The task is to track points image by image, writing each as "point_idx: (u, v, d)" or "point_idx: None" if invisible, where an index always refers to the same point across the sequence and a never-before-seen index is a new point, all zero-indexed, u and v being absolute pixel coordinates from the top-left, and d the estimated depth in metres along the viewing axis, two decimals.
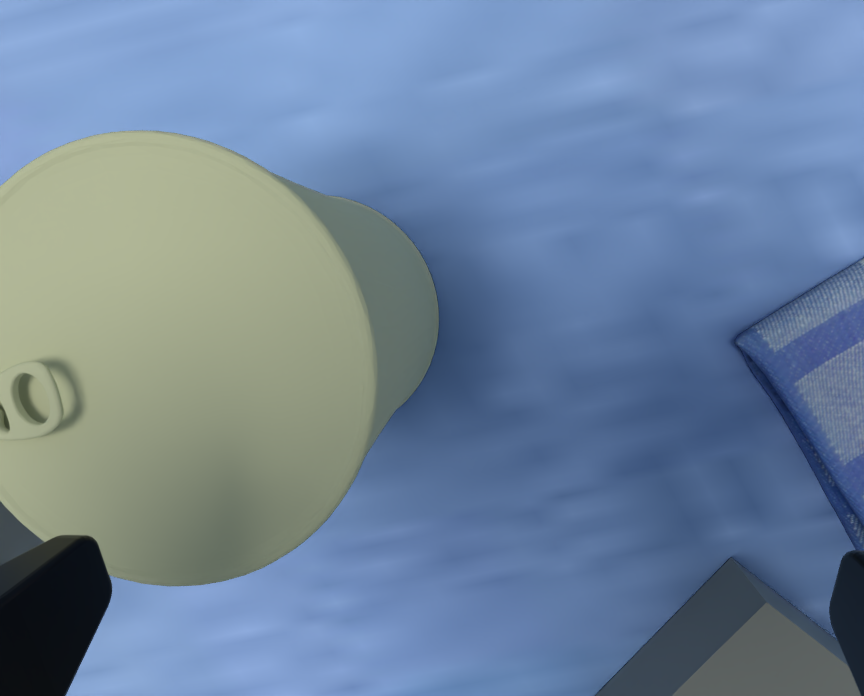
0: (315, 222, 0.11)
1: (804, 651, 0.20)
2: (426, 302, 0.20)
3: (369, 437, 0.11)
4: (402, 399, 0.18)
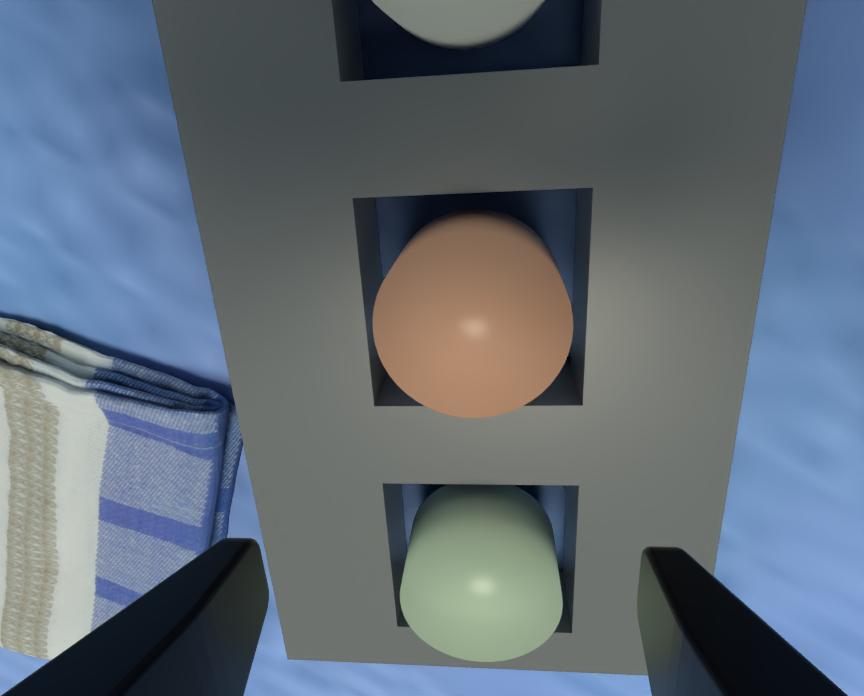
0: None
1: (293, 618, 0.22)
2: None
3: None
4: None
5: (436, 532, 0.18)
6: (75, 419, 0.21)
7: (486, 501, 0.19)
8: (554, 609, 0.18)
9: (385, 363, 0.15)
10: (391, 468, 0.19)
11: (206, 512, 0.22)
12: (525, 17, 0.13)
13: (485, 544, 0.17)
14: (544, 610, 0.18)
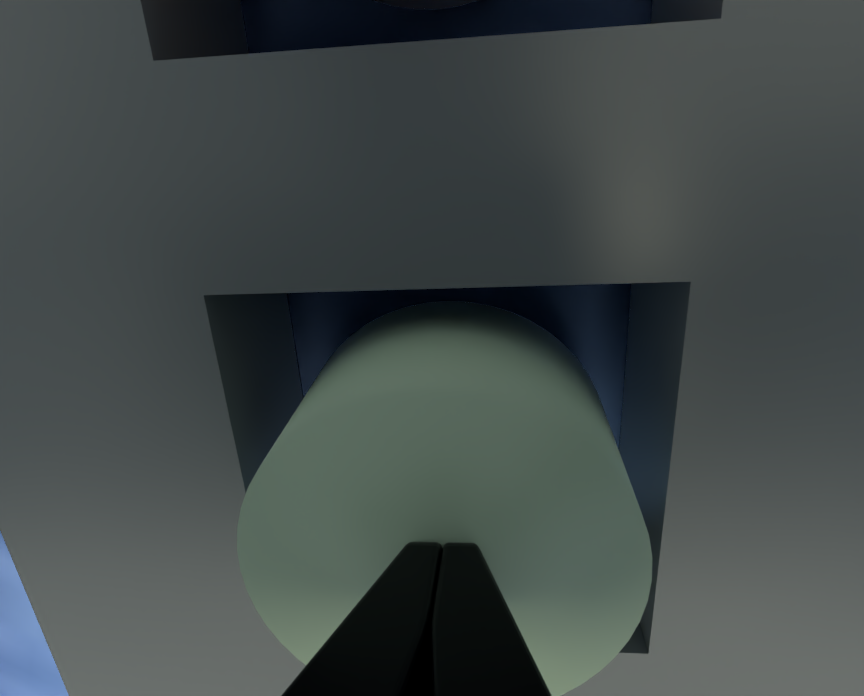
0: None
1: (66, 623, 0.10)
2: None
3: None
4: None
5: (325, 393, 0.07)
6: None
7: (456, 331, 0.08)
8: (629, 589, 0.07)
9: None
10: (219, 251, 0.08)
11: None
12: None
13: (447, 406, 0.06)
14: (603, 591, 0.07)
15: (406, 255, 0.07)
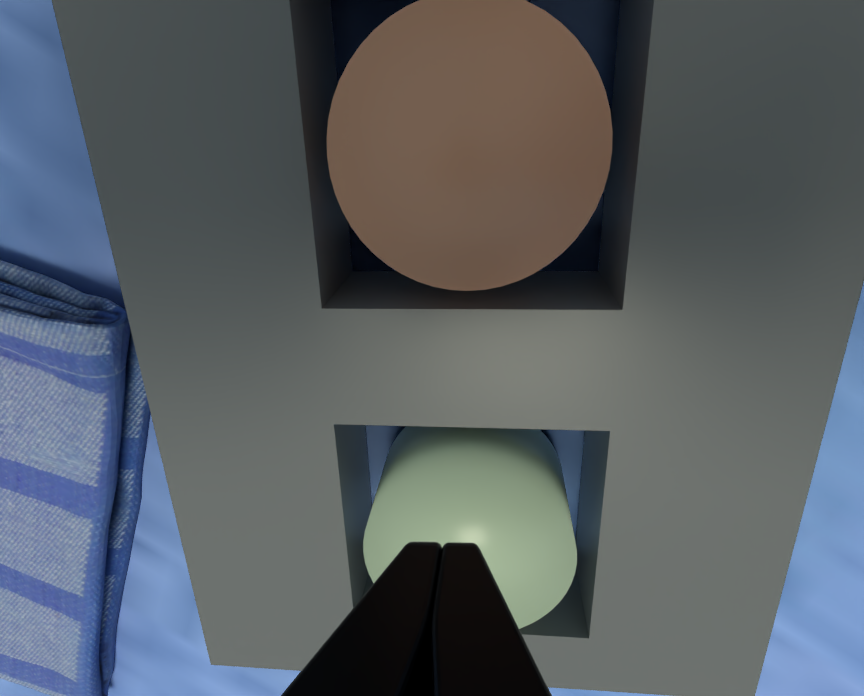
0: None
1: (216, 611, 0.16)
2: None
3: None
4: None
5: (413, 462, 0.14)
6: None
7: None
8: (565, 566, 0.14)
9: (344, 205, 0.11)
10: (346, 402, 0.13)
11: (103, 467, 0.17)
12: None
13: (478, 475, 0.13)
14: (552, 567, 0.14)
15: (453, 409, 0.13)
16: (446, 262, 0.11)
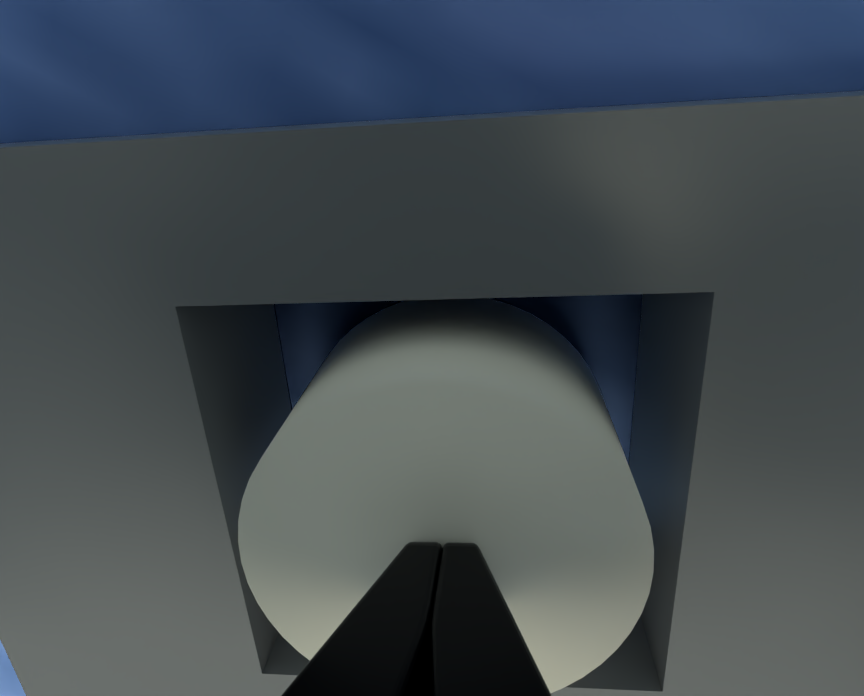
0: None
1: None
2: None
3: None
4: None
5: None
6: None
7: None
8: None
9: None
10: None
11: None
12: None
13: None
14: None
15: None
16: None
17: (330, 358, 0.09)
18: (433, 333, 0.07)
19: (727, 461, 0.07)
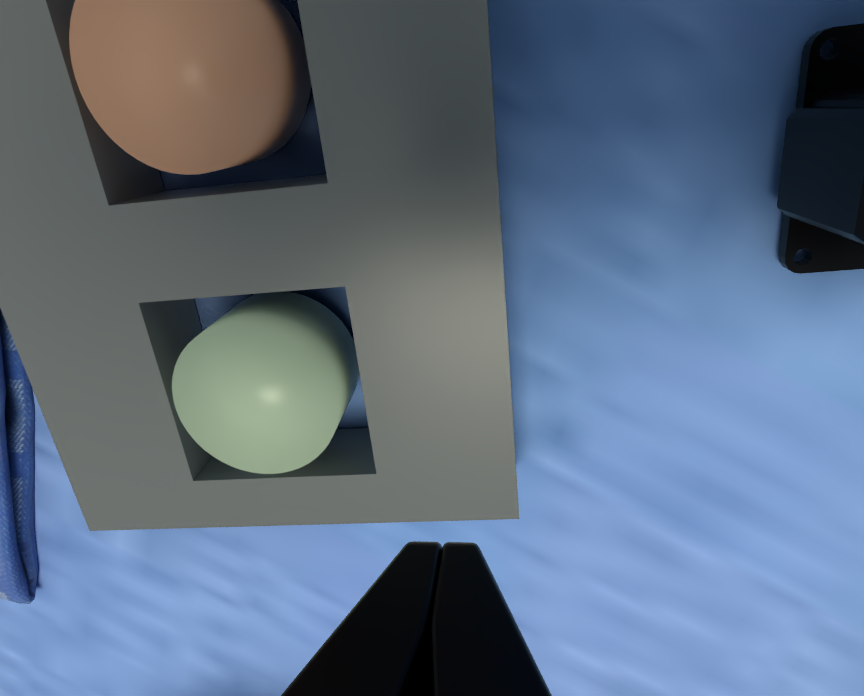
0: None
1: (84, 480, 0.20)
2: None
3: None
4: None
5: (205, 329, 0.17)
6: None
7: (265, 303, 0.18)
8: (329, 402, 0.17)
9: (95, 115, 0.14)
10: (143, 283, 0.17)
11: None
12: None
13: (244, 329, 0.16)
14: (320, 404, 0.17)
15: (224, 281, 0.17)
16: (178, 152, 0.15)
17: None
18: None
19: None
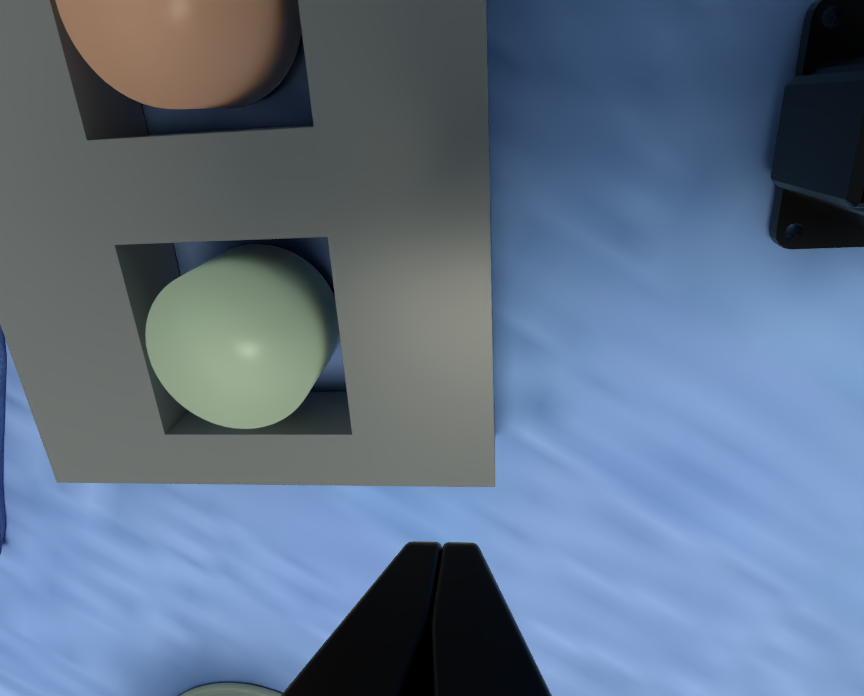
0: None
1: (53, 429, 0.19)
2: None
3: None
4: None
5: None
6: None
7: (246, 253, 0.17)
8: (306, 356, 0.17)
9: (75, 41, 0.14)
10: (120, 224, 0.16)
11: None
12: None
13: (221, 275, 0.16)
14: (296, 358, 0.17)
15: (203, 225, 0.16)
16: (159, 85, 0.14)
17: None
18: None
19: None
